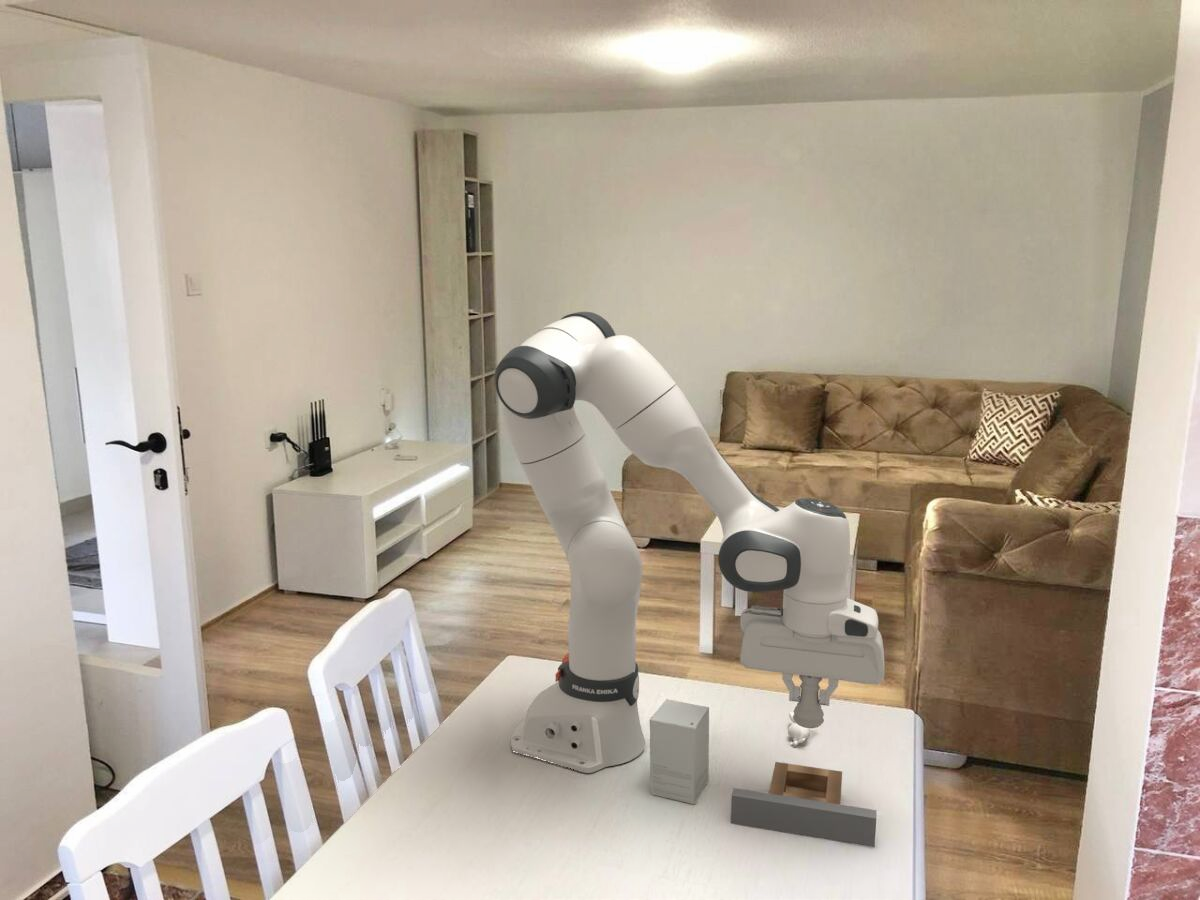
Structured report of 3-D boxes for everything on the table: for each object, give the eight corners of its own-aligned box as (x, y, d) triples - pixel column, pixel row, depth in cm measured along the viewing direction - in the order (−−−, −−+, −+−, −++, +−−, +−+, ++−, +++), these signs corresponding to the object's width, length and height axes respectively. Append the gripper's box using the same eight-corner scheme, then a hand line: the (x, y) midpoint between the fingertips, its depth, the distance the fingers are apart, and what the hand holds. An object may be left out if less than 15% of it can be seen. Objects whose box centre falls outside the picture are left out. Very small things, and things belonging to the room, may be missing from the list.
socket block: (767, 819, 135) (768, 797, 134) (774, 782, 144) (775, 761, 144) (838, 830, 132) (839, 808, 131) (841, 792, 141) (842, 771, 141)
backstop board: (730, 823, 134) (731, 795, 134) (732, 815, 136) (733, 787, 135) (874, 847, 129) (876, 818, 128) (874, 838, 131) (876, 810, 130)
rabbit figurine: (776, 743, 156) (784, 705, 162) (790, 757, 157) (798, 718, 163) (804, 736, 152) (811, 696, 158) (819, 750, 153) (826, 710, 159)
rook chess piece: (824, 730, 133) (827, 679, 131) (792, 727, 134) (795, 676, 132) (823, 715, 138) (826, 665, 136) (792, 712, 138) (794, 663, 137)
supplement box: (709, 780, 145) (711, 706, 143) (694, 806, 139) (695, 728, 136) (665, 770, 148) (666, 697, 146) (648, 794, 142) (648, 718, 139)
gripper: (737, 612, 132) (734, 701, 135) (888, 628, 126) (881, 721, 129) (743, 596, 138) (740, 682, 141) (887, 611, 132) (881, 701, 135)
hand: (809, 701), depth 135 cm, fingers closed on rook chess piece, 3 cm apart
